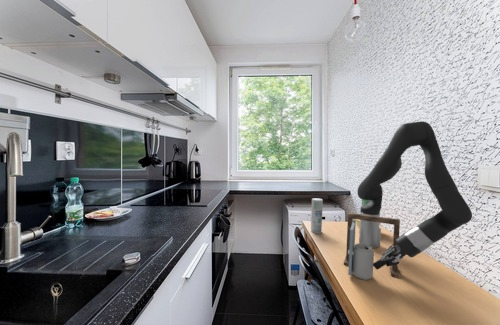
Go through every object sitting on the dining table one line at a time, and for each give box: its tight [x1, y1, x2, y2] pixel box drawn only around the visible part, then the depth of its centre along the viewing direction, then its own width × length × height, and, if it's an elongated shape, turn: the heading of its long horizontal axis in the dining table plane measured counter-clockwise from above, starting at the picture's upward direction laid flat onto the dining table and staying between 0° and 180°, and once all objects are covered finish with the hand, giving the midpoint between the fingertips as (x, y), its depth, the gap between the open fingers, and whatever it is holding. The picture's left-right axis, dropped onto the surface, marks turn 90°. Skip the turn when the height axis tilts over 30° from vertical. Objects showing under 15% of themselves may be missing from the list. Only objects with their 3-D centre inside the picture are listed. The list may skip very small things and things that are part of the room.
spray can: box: [310, 197, 324, 234], centre depth 144 cm, size 6×6×20 cm
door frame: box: [343, 212, 401, 278], centre depth 100 cm, size 21×8×22 cm, turn 62°
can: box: [351, 243, 375, 281], centre depth 92 cm, size 8×8×12 cm
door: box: [347, 220, 357, 276], centre depth 97 cm, size 14×2×18 cm, turn 152°
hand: (374, 266), depth 90 cm, fingers closed
